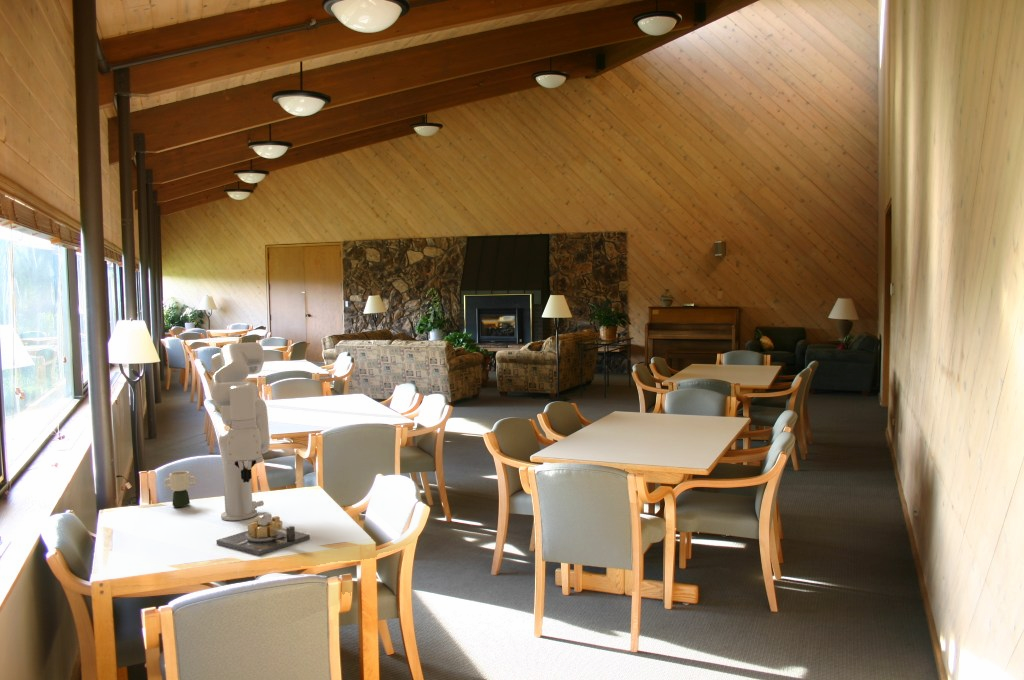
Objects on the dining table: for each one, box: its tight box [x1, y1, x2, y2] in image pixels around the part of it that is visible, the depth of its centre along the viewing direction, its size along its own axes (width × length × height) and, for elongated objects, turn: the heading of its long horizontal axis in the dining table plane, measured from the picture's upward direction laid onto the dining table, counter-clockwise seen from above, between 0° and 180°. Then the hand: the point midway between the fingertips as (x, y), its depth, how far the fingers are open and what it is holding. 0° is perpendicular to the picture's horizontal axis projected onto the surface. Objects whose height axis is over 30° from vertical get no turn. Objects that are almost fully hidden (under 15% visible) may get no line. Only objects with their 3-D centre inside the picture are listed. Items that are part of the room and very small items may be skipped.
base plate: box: [215, 513, 311, 557], centre depth 280 cm, size 20×22×8 cm
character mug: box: [164, 470, 196, 508], centre depth 329 cm, size 11×7×13 cm, turn 106°
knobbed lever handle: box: [247, 515, 296, 542], centre depth 277 cm, size 20×10×4 cm, turn 50°
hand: (246, 481), depth 272 cm, fingers closed
